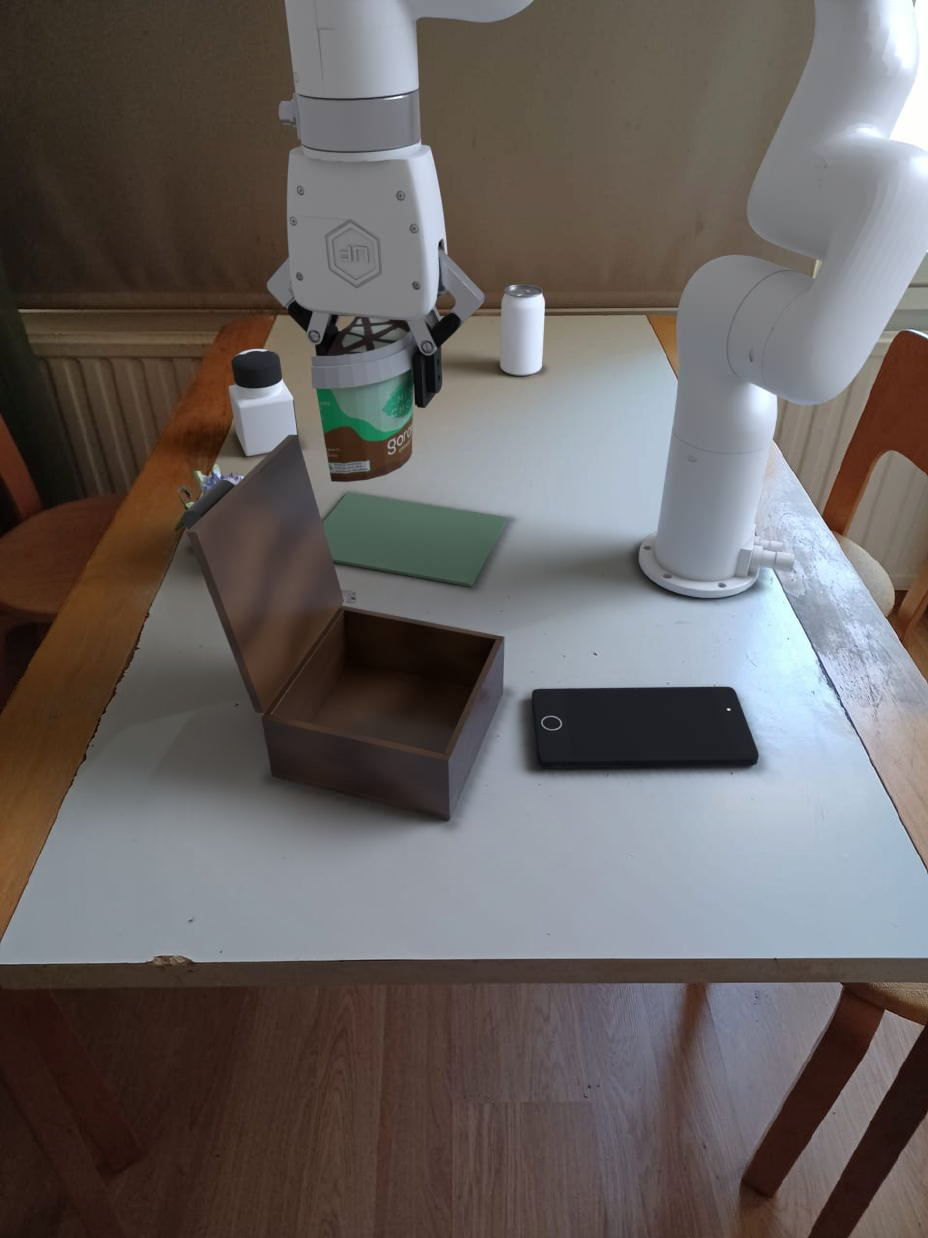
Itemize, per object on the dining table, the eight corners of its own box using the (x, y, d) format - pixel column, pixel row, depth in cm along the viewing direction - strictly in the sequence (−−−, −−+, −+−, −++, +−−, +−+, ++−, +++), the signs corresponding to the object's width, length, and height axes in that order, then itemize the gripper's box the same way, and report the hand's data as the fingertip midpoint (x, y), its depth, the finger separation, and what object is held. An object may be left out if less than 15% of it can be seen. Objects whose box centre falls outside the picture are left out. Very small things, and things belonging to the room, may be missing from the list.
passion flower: (267, 593, 103) (261, 555, 92) (168, 579, 102) (151, 539, 90) (281, 502, 106) (278, 455, 95) (187, 488, 105) (172, 439, 94)
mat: (507, 520, 105) (507, 517, 105) (471, 587, 94) (471, 584, 94) (348, 494, 110) (347, 491, 110) (297, 555, 99) (296, 552, 99)
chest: (503, 693, 81) (504, 636, 77) (449, 820, 70) (448, 761, 66) (347, 661, 85) (340, 604, 81) (272, 777, 73) (260, 717, 69)
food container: (407, 498, 65) (399, 364, 59) (325, 491, 66) (308, 359, 60) (441, 422, 75) (437, 300, 68) (369, 417, 76) (358, 297, 69)
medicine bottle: (300, 448, 120) (289, 360, 112) (246, 457, 118) (231, 368, 110) (288, 426, 125) (276, 340, 118) (236, 434, 123) (221, 348, 116)
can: (494, 363, 142) (495, 285, 135) (533, 358, 144) (536, 281, 136) (508, 379, 137) (510, 299, 130) (548, 373, 139) (552, 294, 132)
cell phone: (530, 696, 81) (531, 688, 80) (732, 693, 81) (734, 685, 80) (538, 769, 74) (538, 761, 73) (759, 766, 74) (761, 758, 73)
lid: (297, 434, 72) (240, 435, 73) (196, 532, 60) (130, 530, 62) (344, 601, 81) (292, 598, 82) (264, 714, 69) (205, 708, 71)
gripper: (205, 130, 56) (253, 404, 67) (477, 140, 51) (480, 430, 63) (261, 109, 61) (296, 365, 72) (509, 117, 57) (506, 387, 68)
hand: (381, 393), depth 67 cm, fingers closed on food container, 6 cm apart
